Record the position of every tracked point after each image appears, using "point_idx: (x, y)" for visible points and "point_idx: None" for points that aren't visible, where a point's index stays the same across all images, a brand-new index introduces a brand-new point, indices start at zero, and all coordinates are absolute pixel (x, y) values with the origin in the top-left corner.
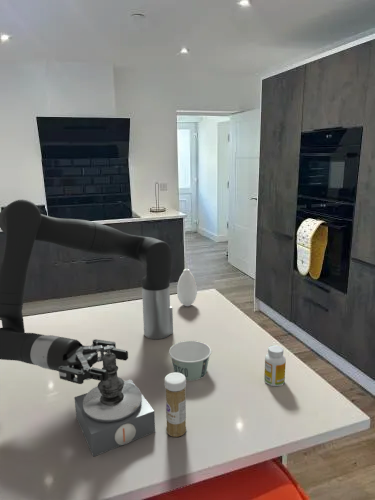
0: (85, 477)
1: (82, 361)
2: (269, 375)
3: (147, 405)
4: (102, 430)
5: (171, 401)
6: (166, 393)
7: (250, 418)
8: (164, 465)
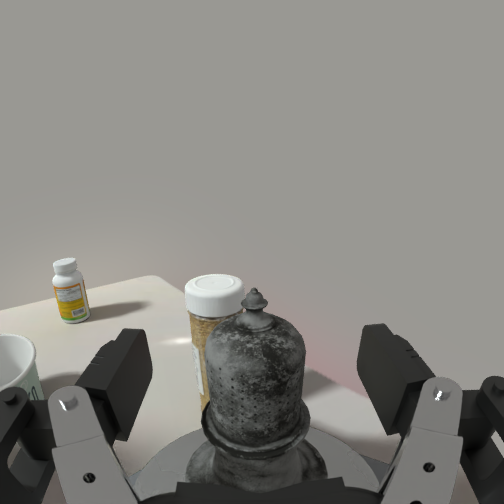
0: None
1: (447, 445)
2: (81, 303)
3: None
4: (385, 464)
5: None
6: None
7: (164, 332)
8: (322, 396)
